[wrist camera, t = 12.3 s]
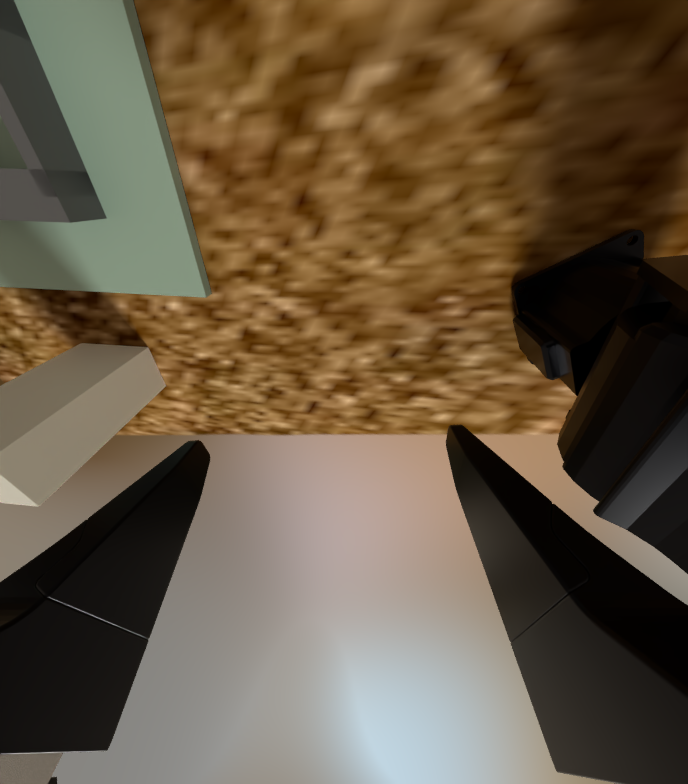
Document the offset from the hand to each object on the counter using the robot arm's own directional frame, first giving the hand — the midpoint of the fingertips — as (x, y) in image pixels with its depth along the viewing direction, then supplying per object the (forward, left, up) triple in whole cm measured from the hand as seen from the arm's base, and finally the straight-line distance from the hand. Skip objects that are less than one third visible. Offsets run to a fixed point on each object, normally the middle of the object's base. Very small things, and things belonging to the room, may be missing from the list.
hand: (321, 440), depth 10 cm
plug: (+20, -6, -12) cm, 24 cm away
